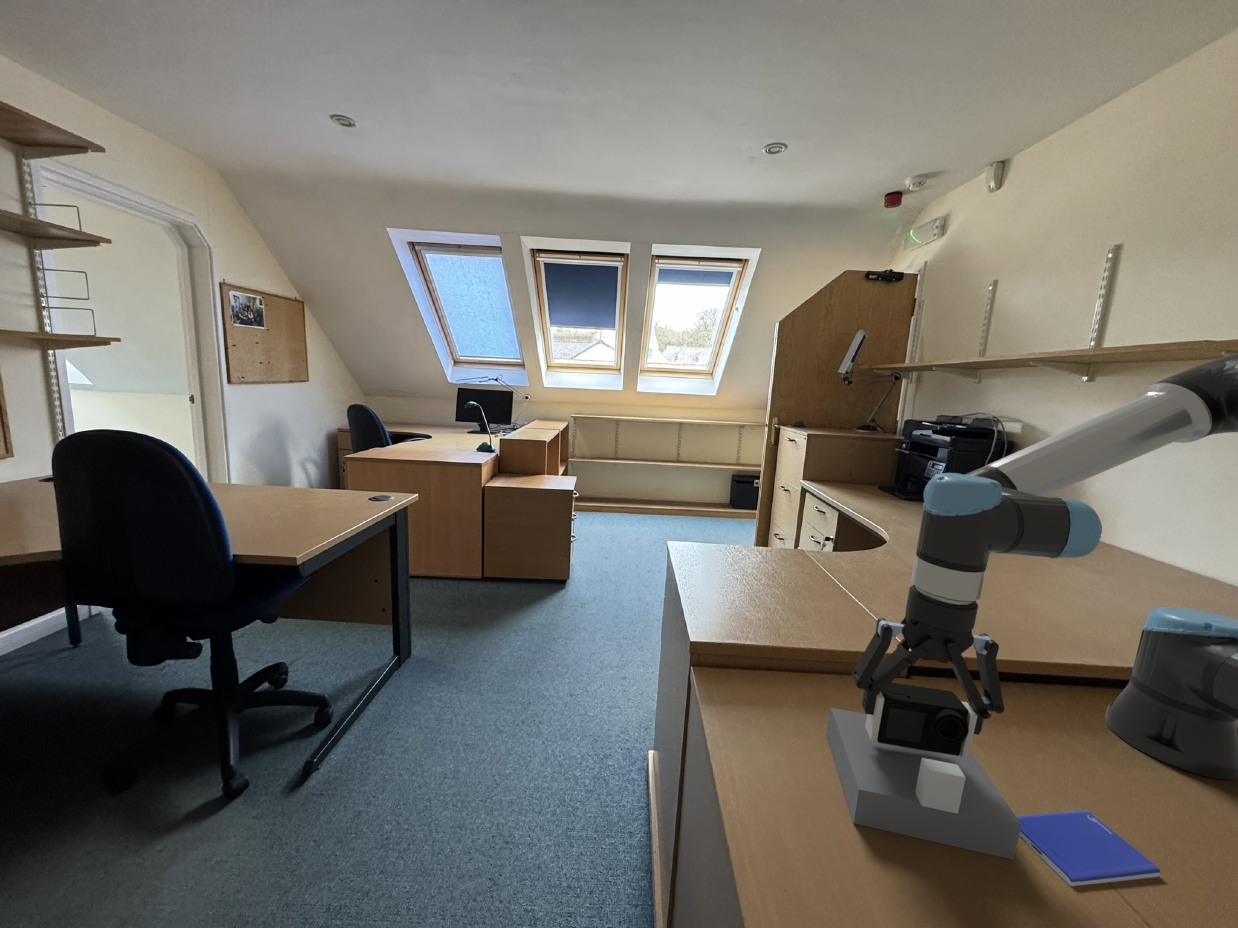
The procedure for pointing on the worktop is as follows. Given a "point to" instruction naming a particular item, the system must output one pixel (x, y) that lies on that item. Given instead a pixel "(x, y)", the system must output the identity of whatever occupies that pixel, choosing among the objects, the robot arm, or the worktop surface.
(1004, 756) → the worktop surface
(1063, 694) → the worktop surface
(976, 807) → the stand
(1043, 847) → the hard drive
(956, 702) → the digital camera
